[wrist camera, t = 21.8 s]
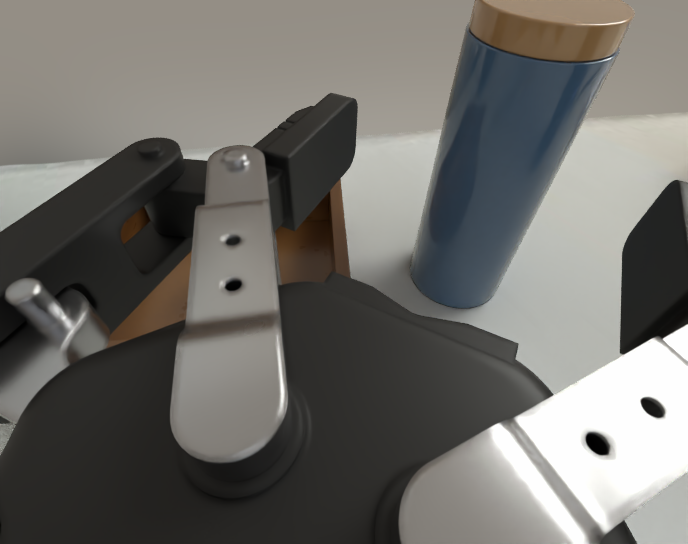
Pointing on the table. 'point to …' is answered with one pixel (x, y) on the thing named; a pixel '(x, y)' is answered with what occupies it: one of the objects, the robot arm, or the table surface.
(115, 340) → the wooden box
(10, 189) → the table surface
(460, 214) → the canister
